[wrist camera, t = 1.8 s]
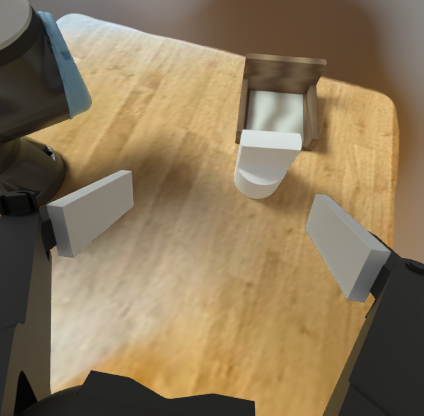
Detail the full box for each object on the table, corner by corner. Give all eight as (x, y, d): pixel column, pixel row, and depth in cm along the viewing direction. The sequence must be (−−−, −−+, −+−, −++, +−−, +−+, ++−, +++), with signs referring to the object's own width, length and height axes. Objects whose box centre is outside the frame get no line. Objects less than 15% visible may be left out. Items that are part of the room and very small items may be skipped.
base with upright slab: (232, 196, 41) (239, 163, 30) (235, 157, 44) (242, 113, 33) (278, 200, 41) (303, 168, 30) (278, 160, 44) (300, 117, 33)
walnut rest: (235, 142, 46) (239, 113, 38) (241, 88, 51) (246, 53, 43) (310, 150, 45) (330, 122, 37) (308, 94, 50) (326, 59, 42)
